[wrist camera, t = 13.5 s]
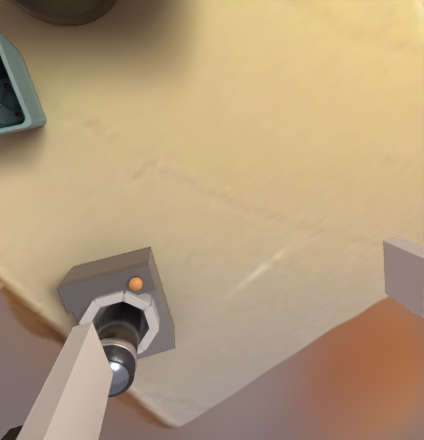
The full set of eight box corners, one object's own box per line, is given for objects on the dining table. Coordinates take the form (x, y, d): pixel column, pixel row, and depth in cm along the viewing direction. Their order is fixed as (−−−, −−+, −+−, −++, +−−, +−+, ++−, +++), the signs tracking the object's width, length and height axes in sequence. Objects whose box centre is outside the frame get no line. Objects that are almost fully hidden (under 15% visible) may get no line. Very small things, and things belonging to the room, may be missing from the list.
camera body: (73, 266, 39) (54, 292, 32) (150, 246, 41) (147, 267, 34) (105, 346, 43) (93, 384, 36) (174, 326, 45) (176, 359, 38)
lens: (98, 330, 37) (74, 397, 27) (107, 296, 36) (86, 352, 26) (137, 337, 38) (127, 403, 29) (147, 304, 37) (140, 360, 28)
